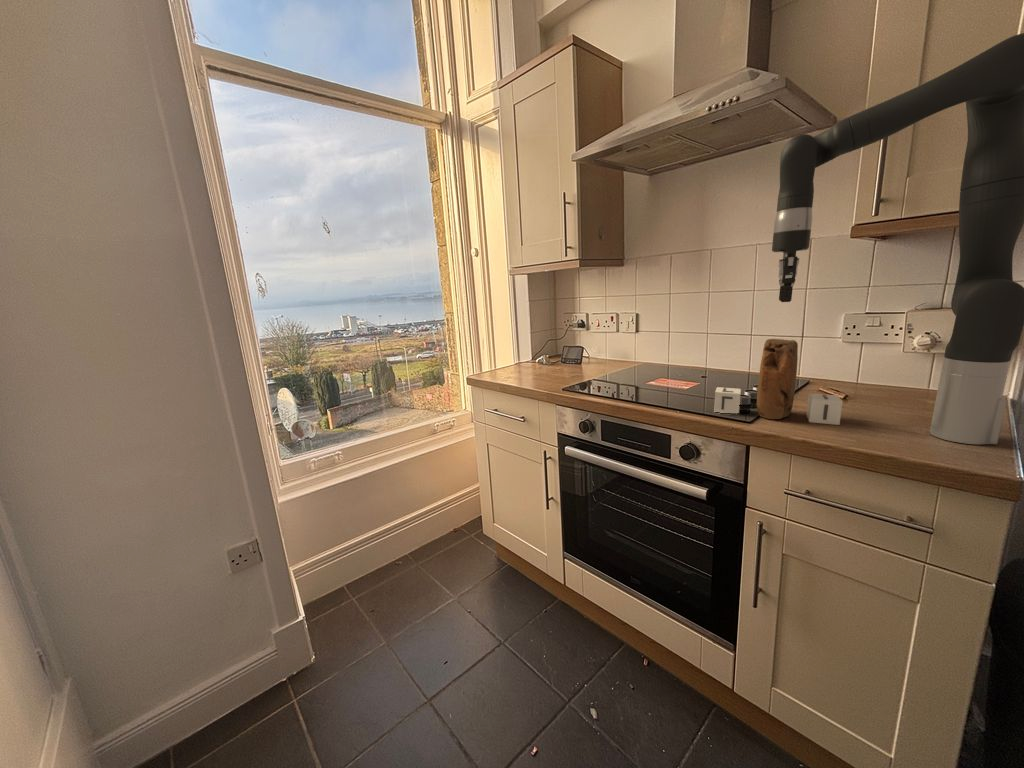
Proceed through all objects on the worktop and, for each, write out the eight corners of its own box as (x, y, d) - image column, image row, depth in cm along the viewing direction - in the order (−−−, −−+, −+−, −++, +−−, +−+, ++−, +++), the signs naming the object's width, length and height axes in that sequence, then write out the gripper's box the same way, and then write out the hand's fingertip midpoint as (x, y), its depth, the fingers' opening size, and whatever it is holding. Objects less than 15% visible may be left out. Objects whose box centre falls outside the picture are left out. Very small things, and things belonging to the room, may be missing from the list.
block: (762, 408, 115) (769, 337, 111) (794, 412, 110) (802, 338, 106) (751, 417, 108) (758, 341, 103) (785, 423, 103) (794, 343, 98)
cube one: (835, 418, 105) (838, 394, 104) (839, 425, 100) (842, 400, 98) (806, 415, 108) (809, 392, 107) (809, 422, 103) (812, 398, 101)
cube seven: (739, 409, 116) (740, 388, 114) (738, 415, 110) (740, 393, 109) (715, 407, 118) (716, 386, 117) (713, 413, 113) (715, 391, 112)
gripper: (814, 225, 91) (806, 302, 95) (807, 231, 103) (800, 299, 107) (774, 229, 94) (767, 303, 98) (772, 234, 107) (766, 300, 110)
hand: (784, 301), depth 102 cm, fingers open, 6 cm apart
